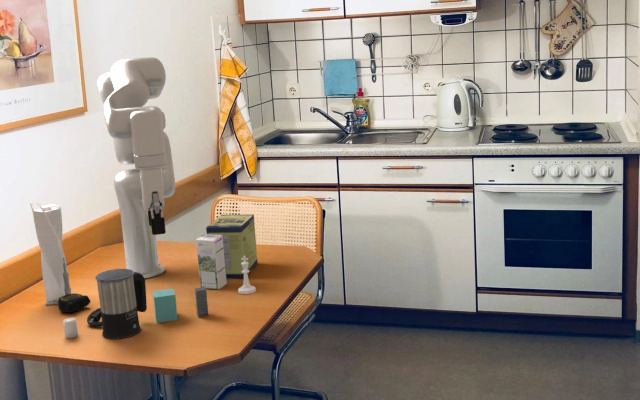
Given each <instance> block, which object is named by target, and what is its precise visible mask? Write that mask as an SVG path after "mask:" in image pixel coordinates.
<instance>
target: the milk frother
mask: <svg viewBox="0 0 640 400" xmlns="http://www.w3.org/2000/svg"><path fill="white" fill-rule="evenodd" d="M94 279H95V281H96V284H97V285H96V286H97V292H98V301H99V307H98V308H96V309H95V310H93V311H92V312H91V313H90V314H89V315H88V316H87V318H86V323H87V324H88V325H89V326H91V327H97V328H98V327H102V332H101V336H103V337H104V338H106V339H113V340H115V339H116V340H117V339H119V340H120V339H126V338H130V337H132V336H135V335H137V334H138V333H140V331H141V329H142V328H141V325H140V319H139V313H138V312H140V313H145V312H146V311H147V308H148V307H147V304H148V303H147V287H146V278H144V277H143V275H142V274H140V273H138V272H134V271H132V270H130V269H125V268H115V269H108V270H105V271H102V272H99V273H98V274H96V275H95V276H94Z"/></svg>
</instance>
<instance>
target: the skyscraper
mask: <svg viewBox="0 0 640 400" xmlns="http://www.w3.org/2000/svg"><path fill="white" fill-rule="evenodd" d="M29 204H30V208H31V210H32V218H33V224H34V228H35V233H36V238H37V242H38V245H39V247H40V248H39V249H40V262H41V265H40V266H41V275H42V281H43V288H44V294H45V299H46V302H45V306H55V305H57V306H58V299H59V298H60V297H62V296H64V295H67V294H72V287H71V285H70V277H69V275H70V273H69V271H68V266H67V260H66V255H65V251H64V249H63V218H62V217H63V216H62V207H61V206H60V205H58V204H54V203H50V204H48V205H46V204H45V205H41V204H40V203H39V202H34V201H31V202H30V203H29ZM33 205H36V206H39V208H38V209H34V207H33Z"/></svg>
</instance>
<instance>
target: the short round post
mask: <svg viewBox="0 0 640 400" xmlns="http://www.w3.org/2000/svg"><path fill="white" fill-rule="evenodd" d="M62 324H63V331H64V337H65V339H74V338H76V337H78V336H79V333H78V332H79V331H78V326H77V318H75V317H68V318H65V319H63V321H62Z"/></svg>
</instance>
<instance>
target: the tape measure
mask: <svg viewBox="0 0 640 400" xmlns="http://www.w3.org/2000/svg"><path fill="white" fill-rule="evenodd" d="M90 304H91V299H90V297H89V296H88V295H83V294H80V293H76V292H75V293H73V292H72V293H71V294H67V295H64V296H62V297H60V298H59V299H58V304H57V306H58V310H59V311H60V312H62V313H73V312H76V311H79V310H80V309H84V308H86V307H88V306H89V305H90Z"/></svg>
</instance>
